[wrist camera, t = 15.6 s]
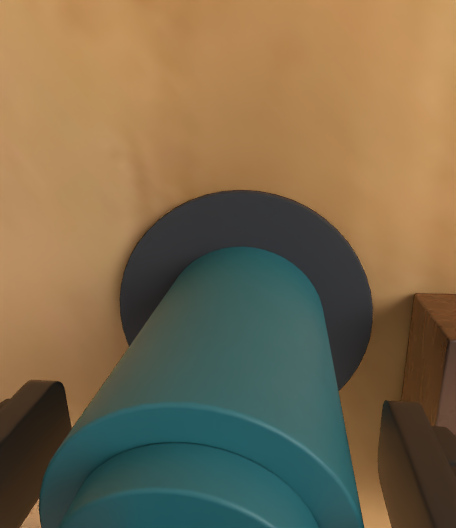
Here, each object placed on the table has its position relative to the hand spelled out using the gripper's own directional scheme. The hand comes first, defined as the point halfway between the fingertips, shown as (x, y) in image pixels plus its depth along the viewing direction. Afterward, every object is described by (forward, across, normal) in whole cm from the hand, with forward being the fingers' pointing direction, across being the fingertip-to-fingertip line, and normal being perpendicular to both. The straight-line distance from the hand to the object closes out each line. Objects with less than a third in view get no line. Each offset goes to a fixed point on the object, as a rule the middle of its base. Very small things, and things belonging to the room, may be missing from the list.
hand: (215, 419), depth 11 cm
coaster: (+6, 0, 0) cm, 6 cm away
